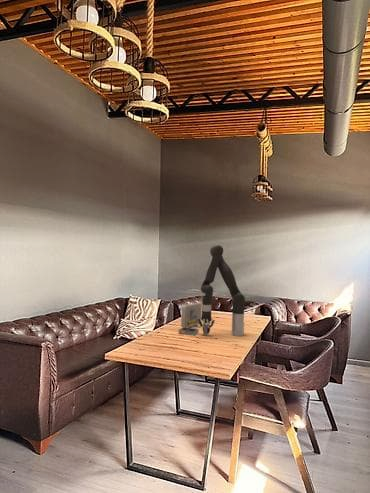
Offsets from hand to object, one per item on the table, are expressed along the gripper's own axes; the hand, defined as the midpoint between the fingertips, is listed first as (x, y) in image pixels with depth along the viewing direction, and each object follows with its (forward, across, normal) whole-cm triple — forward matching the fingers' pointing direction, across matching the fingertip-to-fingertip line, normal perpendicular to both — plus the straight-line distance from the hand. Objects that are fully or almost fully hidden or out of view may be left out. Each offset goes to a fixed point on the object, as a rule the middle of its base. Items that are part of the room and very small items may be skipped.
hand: (206, 332), depth 307 cm
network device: (+3, +20, -21) cm, 29 cm away
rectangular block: (+1, 0, 0) cm, 1 cm away
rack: (+2, +15, 0) cm, 15 cm away
